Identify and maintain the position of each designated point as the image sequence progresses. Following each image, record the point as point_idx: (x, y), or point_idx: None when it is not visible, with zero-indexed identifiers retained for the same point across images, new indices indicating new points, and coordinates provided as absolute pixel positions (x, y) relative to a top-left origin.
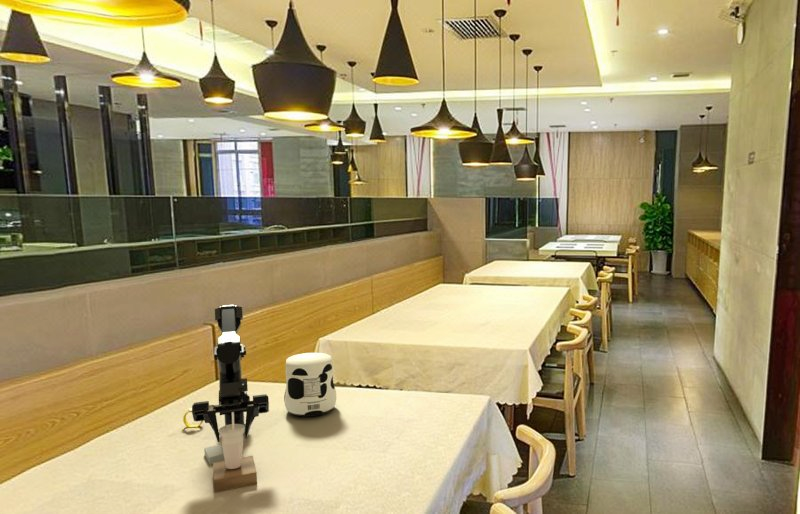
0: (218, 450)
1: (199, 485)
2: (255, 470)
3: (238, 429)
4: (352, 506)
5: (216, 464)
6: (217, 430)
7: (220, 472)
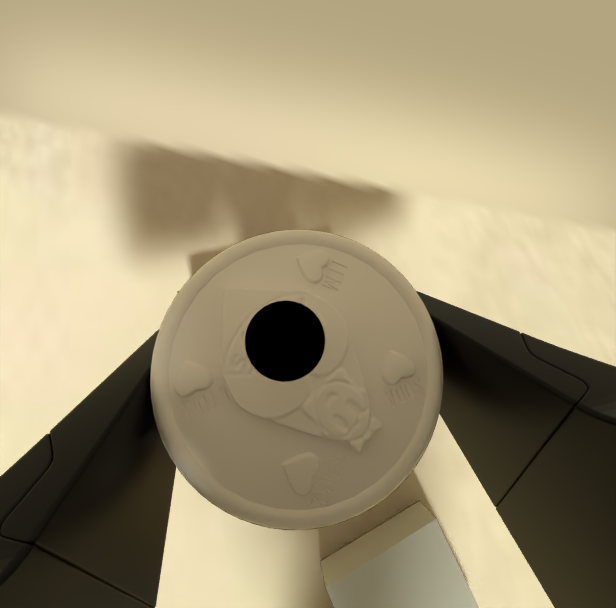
0: (415, 603)
1: None
2: None
3: (221, 330)
4: None
5: None
6: (451, 320)
7: None
